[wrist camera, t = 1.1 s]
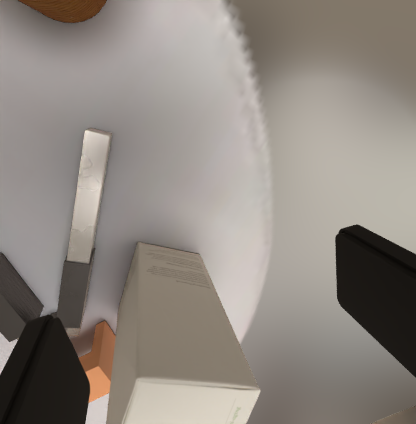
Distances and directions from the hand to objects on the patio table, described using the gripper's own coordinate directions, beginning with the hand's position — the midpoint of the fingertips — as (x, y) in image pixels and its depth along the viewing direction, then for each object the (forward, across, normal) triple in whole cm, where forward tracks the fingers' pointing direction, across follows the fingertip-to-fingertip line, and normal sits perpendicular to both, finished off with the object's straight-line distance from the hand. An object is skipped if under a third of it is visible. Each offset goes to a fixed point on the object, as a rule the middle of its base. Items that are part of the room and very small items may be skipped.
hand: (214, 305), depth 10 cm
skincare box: (+17, +3, +9) cm, 20 cm away
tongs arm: (+17, +8, +2) cm, 19 cm away
